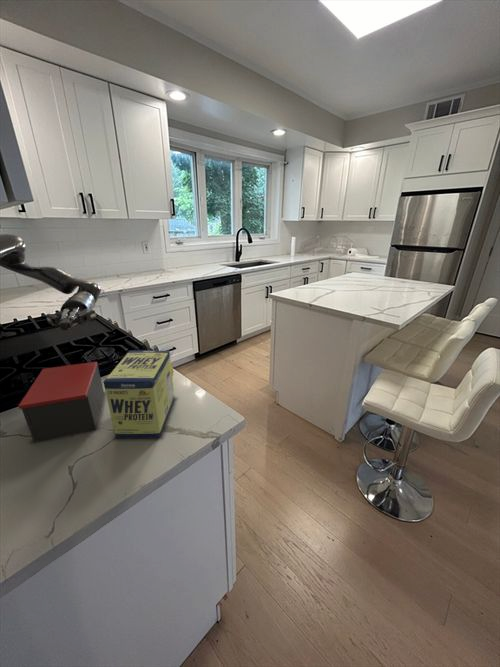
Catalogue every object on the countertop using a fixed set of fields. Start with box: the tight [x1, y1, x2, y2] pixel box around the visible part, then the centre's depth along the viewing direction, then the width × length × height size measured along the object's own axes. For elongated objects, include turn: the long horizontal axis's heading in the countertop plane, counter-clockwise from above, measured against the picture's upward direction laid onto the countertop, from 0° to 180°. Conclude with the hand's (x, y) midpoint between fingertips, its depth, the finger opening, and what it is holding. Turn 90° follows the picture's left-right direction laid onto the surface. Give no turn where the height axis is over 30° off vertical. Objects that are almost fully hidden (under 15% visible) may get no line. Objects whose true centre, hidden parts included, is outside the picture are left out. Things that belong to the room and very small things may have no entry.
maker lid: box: [17, 361, 98, 410], centre depth 67 cm, size 16×13×1 cm
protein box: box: [102, 350, 176, 439], centre depth 68 cm, size 10×16×16 cm
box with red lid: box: [21, 363, 105, 443], centre depth 69 cm, size 16×13×10 cm
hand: (64, 326), depth 73 cm, fingers closed
